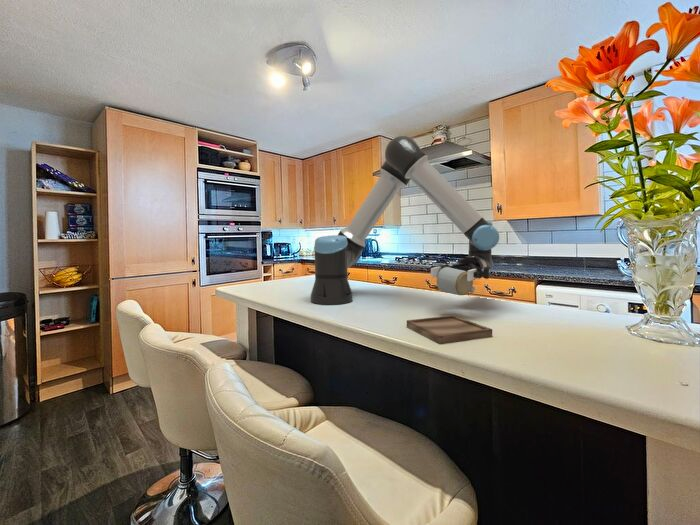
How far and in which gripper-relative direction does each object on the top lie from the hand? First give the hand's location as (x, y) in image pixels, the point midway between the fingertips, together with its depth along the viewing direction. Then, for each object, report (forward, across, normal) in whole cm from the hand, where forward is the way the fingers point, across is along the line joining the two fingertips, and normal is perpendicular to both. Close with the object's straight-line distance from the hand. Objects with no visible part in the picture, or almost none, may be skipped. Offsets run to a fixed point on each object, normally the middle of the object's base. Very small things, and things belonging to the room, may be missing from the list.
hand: (449, 274), depth 87 cm
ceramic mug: (-6, 0, -6) cm, 9 cm away
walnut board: (+11, -4, -12) cm, 17 cm away
